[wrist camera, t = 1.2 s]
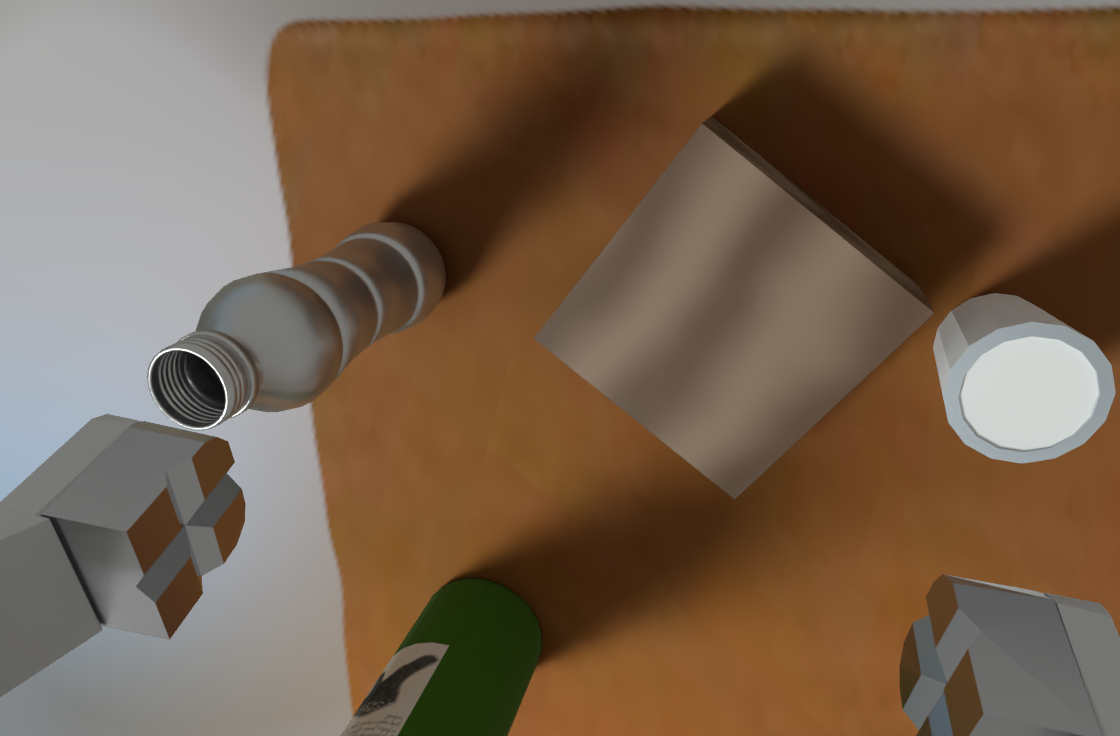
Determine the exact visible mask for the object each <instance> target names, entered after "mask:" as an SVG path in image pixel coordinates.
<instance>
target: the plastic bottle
mask: <svg viewBox="0 0 1120 736" xmlns="http://www.w3.org/2000/svg"><path fill="white" fill-rule="evenodd" d="M445 284H446V272H445V266H444V262H443V259H442V257H441V254H440V253H439V251H438V249H437V247H436V246H435V245H434V243H433V242H432V241H431V240H430V239H429V238H428V237H427V236H426V235H425V234H424V233H422V232H421V231H419V230H418V229H416V228H414V227H412V226H409V225H406V224H403V223H397V222H384V223H372V224H369V225H365V226H362V227H361V228H359V229H357V230H355V231H354V232H352V233H351V234H350V235H348V236H347V237H346V238H344V239H343V240H342V241H341V242H340V243H339V244H338V245H337V246H336V247H335V248H334V249H332V250H331V251H329V252H327V253H326V254H324V255H323V256H321V257H319V258H318V259H315V260H312V261H309V262H307V263H304V264H301V265H298V266H295V267H292V268H287V269H281V270H276V271H270V272H265V273H259V274H254V275H251V276H248V277H244V278H241V279H238V280H234V281H232V282H231V283H229V284H227V285H226V286H224V287H223V288H222V289H221V290H220V291H219V292H218V293H217V294H216V295H215V296H214V297H213V298H212V299H211V300H210V301H209V302H208V303H207V305H206V307H205V308H204V310H203V311H202V313H201V316H200V319H199V322H198V325H197V328H196V331H195V332H193V333H190V334H188V335H187V336H185V337H183V338H181V339H180V340H179V341H178V342H177V343H175V344H173V345H171V346H168V347H166V348H165V349H163V350H161V351H160V352H159V353H158V354H157V355H156V356H155V357H154V358H153V359H152V361H151V363H150V366H149V369H148V376H147V379H148V386H149V390H150V393H151V396H152V397H153V400H154V402H155V403H156V405H157V406H158V408H159V409H160V410H161V411H162V412H163V413H164V414H165V415H166V416H167V417H168V418H169V419H170V420H172V421H173V422H175V423H176V424H178V425H180V426H182V427H185V428H187V429H193V430H206V429H210V428H213V427H215V426H217V425H219V424H221V423H222V422H224V421H226V420H227V419H229V418H233V417H235V416H237V415H240V414H241V413H243V412H244V411H246V410H247V409H253V410H258V411H263V412H279V411H284V410H289V409H293V408H297V407H301V406H304V405H306V404H308V403H310V402H312V401H313V400H314V399H316V398H317V397H318V396H319V395H321V394H322V393H323V392H324V391H325V390H326V389H327V388H328V387H329V386H330V385H331V384H332V383H333V381H334V380H335V379H336V378H337V377H338V376H339V375H340V373H341V372H342V371H343V370H344V369H345V368H346V367H347V365H348V364H349V363H350V362H351V361H352V360H353V359H354V358H355V357H356V356H357V355H359V354H360V353H361V352H362V351H363V350H365V349H366V348H367V347H368V346H369V345H371V344H372V343H374V342H376V341H378V340H380V339H382V338H384V337H386V336H388V335H389V334H393V333H397V332H401V331H404V330H406V329H408V328H411V327H413V326H415V325H417V324H419V323H421V322H422V321H423V320H425V319H426V318H427V317H428V316H429V315H430V313H431V312H432V311H433V310H434V308H435V307H436V305H437V304H438V302H439V301H440V299H441V297H442V295H443V292H444V288H445Z"/></svg>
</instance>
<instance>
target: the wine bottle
mask: <svg viewBox="0 0 1120 736" xmlns="http://www.w3.org/2000/svg"><path fill="white" fill-rule="evenodd" d="M541 650H542V645H541V630H540V627H539V624H538V621H537V618H536V616H535V615H534V613H533V612H532V610H531V609H530V607H529V606H528V604H527V603H525V602H524V601H523V600H522V599H521V598H520V597H519V596H518V595H517V594H516V593H514V592H513V591H511V590H509V589H508V588H506V587H505V586H503V585H500V584H498V583H495V582H492V581H490V580H484V579H477V578H469V579H459V580H457V581H454V582H452V583H449V584H447V585H445V586H444V587H442V588H441V589H440V590H439V591H438V592H436V593H435V594H434V595H433V596H432V598H431V599H430V601H429V603H428V604H427V606H426V607H425V609H424V610H423V612H422V613H421V615H420V616H419V618H418V619H417V621H416V622H415V624H414V625H413V627H412V628H411V630H410V632H409V633H408V635H407V636H406V638H405V639H404V641H403V642H402V644H401V645H400V647H399V648H398V650H397V651H396V653H395V654H394V656H393V657H392V658H391V660H390V661H389V663H388V664H387V666H386V667H385V669H384V670H383V672H382V674H381V675H380V677H379V678H378V680H377V681H376V683H375V684H374V686H373V687H372V689H371V690H370V692H369V693H368V695H367V696H366V698H365V699H364V701H363V702H362V704H361V706H360V707H359V709H358V710H357V712H356V713H355V715H354V716H353V718H352V719H351V721H350V722H349V724H348V726H347V727H346V728H345V730H344V731H343V733H342V734H341V736H508V733H509V731H510V728H511V726H512V723H513V721H514V719H515V716H516V714H517V711H518V709H519V706H520V704H521V702H522V699H523V697H524V694H525V692H526V689H527V687H528V685H529V682H530V680H531V677H532V675H533V672H534V670H535V668H536V665H537V663H538V660H539V656H540V653H541Z"/></svg>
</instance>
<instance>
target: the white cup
mask: <svg viewBox="0 0 1120 736" xmlns="http://www.w3.org/2000/svg"><path fill="white" fill-rule="evenodd" d="M933 349H934V354H935V359H936V364H937V369H938V374H939V379H940V384H941V389H942V394H943V399H944V404H945V409H946V413H947V418H948V423H949V424H950V425H951V427H952V428H953V429H954V430H955V432H956V433H957V434H958V436H959V437H960V438H961V439H962V441H963V442H964V443H965V444H966V445H968V446H969V447H971V448H973V449H975V450H977V451H978V452H980V453H982V454H984V455H986V456H988V457H989V458H991V459H998V460H1004V461H1010V462H1016V463H1028V462H1035V461H1041V460H1047V459H1054V458H1057V457H1059V456H1061V455H1063V454H1064V453H1066V452H1068V451H1070V450H1072V449H1074V448H1076V447H1078V446H1080V445H1082V444H1084V443H1085V442H1086V441H1087V440H1088V439H1089V438H1090V437H1091V436H1092V435H1093V434H1094V433H1095V431H1096V430H1097V429H1098V428H1099V427H1100V426H1101V425H1102V424H1103V423H1104V422H1105V421H1106V418H1107V416H1108V413H1109V410H1110V407H1111V404H1112V401H1113V399H1114V396H1115V386H1114V379H1113V372H1112V365H1111V364H1110V362H1109V361H1108V360H1107V358H1106V357H1105V356H1104V354H1103V353H1102V352H1101V350H1100V349H1099V347H1098V346H1097V345H1096V343H1095V342H1094V341H1093V340H1091V339H1089V338H1088V337H1086V336H1084V335H1083V334H1081V333H1080V332H1078V331H1076V330H1075V329H1073V328H1071V327H1070V326H1068V325H1067V324H1065V323H1063V322H1062V321H1060V320H1058V319H1057V318H1055V317H1053V316H1052V315H1050V314H1049V313H1047V312H1045V311H1044V310H1042V309H1040V308H1039V307H1037V306H1035V305H1033V304H1032V303H1030V302H1028V301H1026V300H1024V299H1022V298H1020V297H1019V296H1015V295H1006V294H998V293H992V294H988V295H983V296H979V297H974V298H970V299H969V300H967V301H966V302H964V303H962V304H961V305H959V306H958V307H956V308H954V309H953V310H951V311H950V313H949V314H948V315H947V317H946V318H945V319H944V320H943V322H942V323H941V324H940V326H939V327H938V329H937V333H936V337H935V341H934V345H933Z"/></svg>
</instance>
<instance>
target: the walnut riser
mask: <svg viewBox="0 0 1120 736" xmlns="http://www.w3.org/2000/svg"><path fill="white" fill-rule="evenodd" d="M933 314H934V312H933V310H932V308H931V306H930V304H929V303H928V301H927V299H926V297H925V296H924V294H923V292H922V290H921V289H920V287H919V285H918V284H916V283H915V282H914V281H913V280H912V279H910V278H909V277H908V276H907V275H905V274H904V273H903V272H902V271H901V270H899V269H898V268H897V267H896V266H894V265H893V264H892V263H891V262H890V261H888V260H887V259H886V258H885V257H883V256H882V255H881V254H880V253H879V252H877V251H876V250H875V249H874V248H872V247H871V246H870V245H869V244H868V243H866V242H865V241H864V240H863V239H861V238H860V237H859V236H858V235H857V234H855V233H854V232H853V231H852V230H850V229H849V228H848V227H847V226H845V225H844V224H843V223H842V222H841V221H839V220H838V219H837V218H836V217H834V216H833V215H832V214H831V213H830V212H828V211H827V210H826V209H825V208H823V207H822V206H821V205H820V204H819V203H817V202H816V201H815V200H814V199H812V198H811V197H810V196H809V195H808V194H806V193H805V192H804V191H803V190H801V189H800V188H799V187H798V186H797V185H795V184H794V183H793V182H792V181H790V180H789V179H788V178H787V177H786V176H784V175H783V174H782V173H781V172H779V171H778V170H777V169H776V168H775V167H773V166H772V165H771V164H770V163H768V162H767V161H766V160H765V159H764V158H762V157H761V156H760V155H759V154H757V153H756V152H755V151H754V150H752V149H751V148H750V147H749V146H748V145H746V144H745V143H744V142H743V141H741V140H740V139H739V138H738V137H737V136H735V135H734V134H733V133H732V132H730V131H729V130H728V129H727V128H726V127H724V126H723V125H722V124H721V123H719V122H718V121H717V120H716V119H715V118H713V117H712V116H711V117H710V118H708V119H707V120H706V121H705V122H703V123H702V124H701V126H700V127H699V128H698V129H697V131H696V132H695V133H694V135H693V136H692V137H691V138H690V140H689V141H688V142H687V144H686V145H685V146H684V147H683V149H682V150H681V151H680V152H679V154H678V155H677V156H676V158H675V159H674V160H673V161H672V163H671V164H670V165H669V166H668V168H667V169H666V170H665V172H664V173H663V174H662V175H661V177H660V178H659V179H658V181H657V182H656V183H655V184H654V186H653V187H652V188H651V189H650V191H649V192H648V193H647V195H646V196H645V197H644V198H643V200H642V201H641V202H640V204H639V205H638V206H637V207H636V209H635V210H634V211H633V212H632V214H631V215H630V216H629V218H628V219H627V220H626V221H625V223H624V224H623V225H622V227H621V228H620V229H619V230H618V232H617V233H616V234H615V235H614V237H613V238H612V239H611V241H610V242H609V243H608V244H607V246H606V247H605V248H604V249H603V251H602V252H601V253H600V255H599V256H598V257H597V258H596V260H595V261H594V262H593V264H592V265H591V266H590V267H589V269H588V270H587V271H586V272H585V274H584V275H583V276H582V278H581V279H580V280H579V281H578V283H577V284H576V285H575V287H574V288H573V289H572V290H571V292H570V293H569V294H568V295H567V297H566V298H565V299H564V301H563V302H562V303H561V304H560V306H559V307H558V308H557V310H556V311H555V312H554V313H553V315H552V316H551V317H550V318H549V320H548V321H547V322H546V324H545V325H544V326H543V327H542V329H541V330H540V331H539V332H538V334H537V335H536V336H535V338H534V339H535V340H537V341H538V342H539V343H540V344H542V345H543V346H544V347H545V348H547V349H548V350H549V351H550V352H552V353H553V354H554V355H555V356H557V357H558V358H559V359H560V360H562V361H563V362H564V363H565V364H566V365H568V366H569V367H570V368H571V369H573V370H574V371H575V372H576V373H578V374H579V375H580V376H581V377H583V378H584V379H585V380H586V381H588V382H589V383H590V384H591V385H593V386H594V387H595V388H596V389H598V390H599V391H600V392H601V393H603V394H604V395H605V396H606V397H608V398H609V399H610V400H611V401H613V402H614V403H615V404H616V405H618V406H619V407H620V408H621V409H623V410H624V411H625V412H626V413H627V414H629V415H630V416H631V417H632V418H634V419H635V420H636V421H637V422H639V423H640V424H641V425H642V426H644V427H645V428H646V429H647V430H649V431H650V432H651V433H652V434H654V435H655V436H656V437H657V438H659V439H660V440H661V441H662V442H664V443H665V444H666V445H667V446H669V447H670V448H671V449H672V450H674V451H675V452H676V453H677V454H679V455H680V456H681V457H682V458H684V459H685V460H686V461H687V462H688V463H690V464H691V465H692V466H693V467H695V468H696V469H697V470H698V471H700V472H701V473H702V474H703V475H705V476H706V477H707V478H708V479H710V480H711V481H712V482H713V483H715V484H716V485H717V486H718V487H720V488H721V489H722V490H723V491H725V492H726V493H727V494H728V495H730V496H731V497H732V498H733V499H736V498H737V497H738V496H739V495H740V494H741V493H742V492H743V491H744V490H745V489H747V488H748V487H749V486H750V485H751V484H752V483H753V482H754V481H755V480H756V479H757V478H758V477H759V476H760V475H762V474H763V473H764V472H765V471H766V470H767V469H768V468H769V467H770V466H771V465H772V464H773V463H774V462H775V461H776V460H778V459H779V458H780V457H781V456H782V455H783V454H784V453H785V452H786V451H787V450H788V449H789V448H790V447H791V446H793V445H794V444H795V443H796V442H797V441H798V440H799V439H800V438H801V437H802V436H803V435H804V434H805V433H806V432H808V431H809V430H810V429H811V428H812V427H813V426H814V425H815V424H816V423H817V422H818V421H819V420H820V419H821V418H823V417H824V416H825V415H826V414H827V413H828V412H829V411H830V410H831V409H832V408H833V407H834V406H835V405H836V404H838V403H839V402H840V401H841V400H842V399H843V398H844V397H845V396H846V395H847V394H848V393H849V392H850V391H851V390H853V389H854V388H855V387H856V386H857V385H858V384H859V383H860V382H861V381H862V380H863V379H864V378H865V377H866V376H867V375H869V374H870V373H871V372H872V371H873V370H874V369H875V368H876V367H877V366H878V365H879V364H880V363H881V362H882V361H884V360H885V359H886V358H887V357H888V356H889V355H890V354H891V353H892V352H893V351H894V350H895V349H896V348H897V347H899V346H900V345H901V344H902V343H903V342H904V341H905V340H906V339H907V338H908V337H909V336H910V335H911V334H912V333H914V332H915V331H916V330H917V329H918V328H919V327H920V326H921V325H922V324H923V323H924V322H925V321H926V320H927V319H929V318H930V317H931V316H932V315H933Z"/></svg>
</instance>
